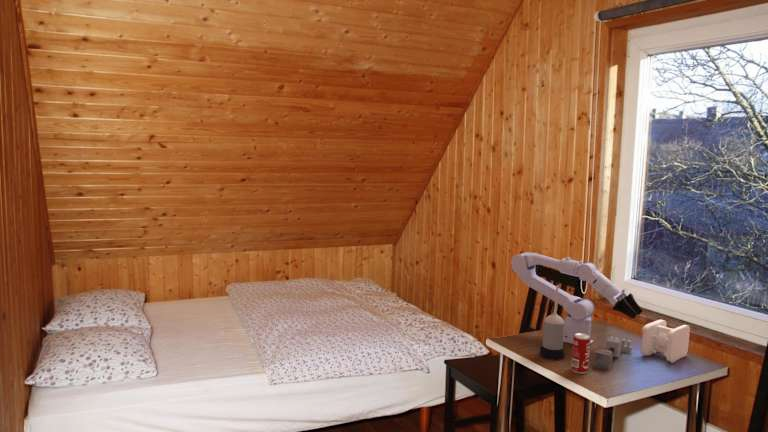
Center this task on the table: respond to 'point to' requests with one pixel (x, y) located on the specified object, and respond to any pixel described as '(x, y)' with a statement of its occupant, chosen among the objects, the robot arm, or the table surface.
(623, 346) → the cable comb
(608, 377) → the table surface
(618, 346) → the grey slotted cube
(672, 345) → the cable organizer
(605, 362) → the block
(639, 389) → the table surface
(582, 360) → the soda can
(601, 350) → the dark grey rod
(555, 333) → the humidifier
